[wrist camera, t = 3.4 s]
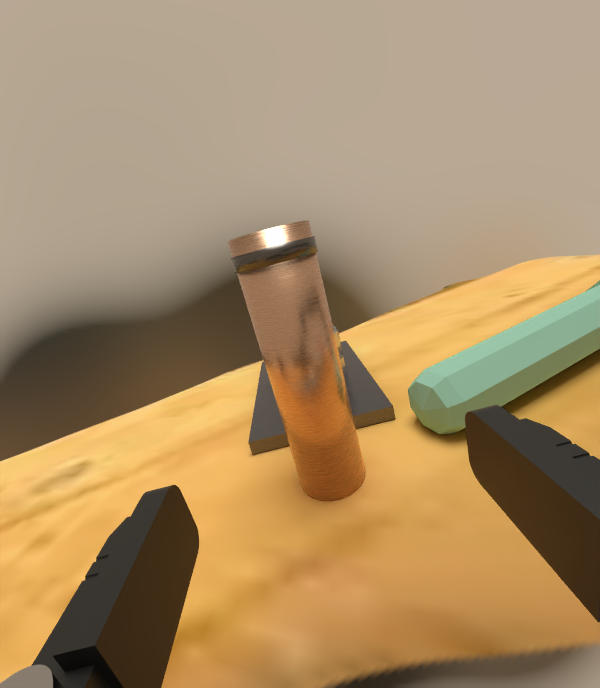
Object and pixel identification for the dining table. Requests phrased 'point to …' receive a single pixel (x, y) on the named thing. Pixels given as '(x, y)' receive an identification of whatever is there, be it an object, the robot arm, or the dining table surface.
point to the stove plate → (361, 391)
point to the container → (507, 363)
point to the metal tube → (301, 355)
